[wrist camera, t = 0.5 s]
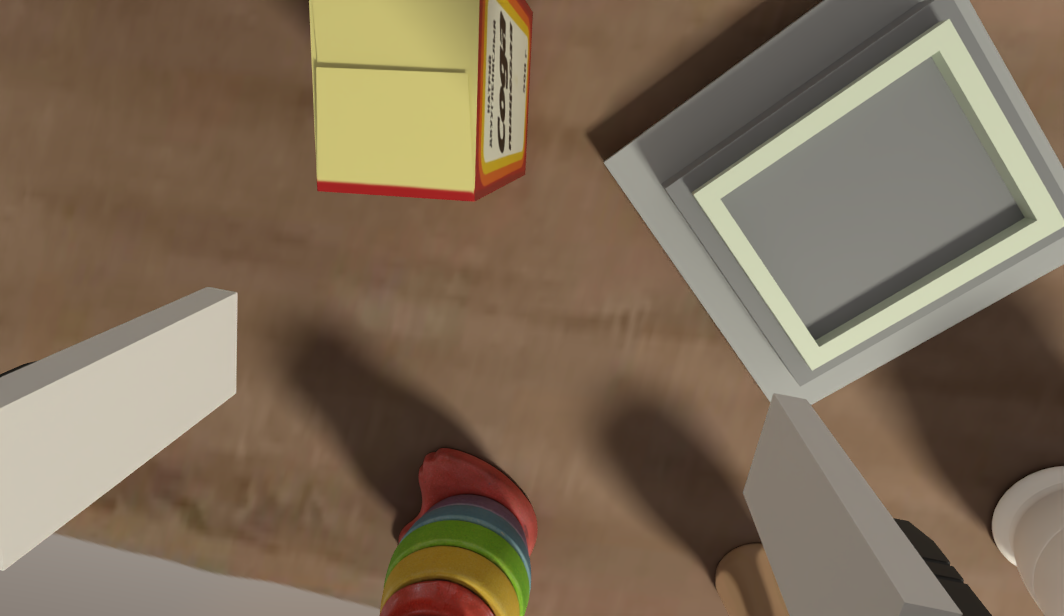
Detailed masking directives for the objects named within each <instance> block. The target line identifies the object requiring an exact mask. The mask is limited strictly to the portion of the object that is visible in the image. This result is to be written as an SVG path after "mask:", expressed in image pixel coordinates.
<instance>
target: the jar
mask: <svg viewBox="0 0 1064 616" xmlns="http://www.w3.org/2000/svg"><path fill="white" fill-rule="evenodd" d="M992 533H993V537H994V541H995V543H996V545H997V547H998V549H999V550H1000V552H1001V553H1002V554H1003V555H1004V556H1005V558H1006V559H1008V560H1009V561H1010V562H1011V563H1012V564H1014V565H1015V566H1017V568H1018V571H1019V573H1020V576H1021V578H1022V580H1023V583H1024V585H1025V586H1026V588H1027V590H1028V592H1029V593H1030V595H1031V597H1032V598H1033V600H1034V601H1035V603H1036V604H1037V606H1038V607H1039V608H1040V610H1041V611H1042V612H1043V614H1044V616H1064V466H1058V467H1051V468H1047V469H1043V470H1040V471H1037V472H1035V473H1032V474H1030V475H1028V476H1026V477H1024V478H1023V479H1021V480H1019V481H1018V482H1016V483H1015V484H1014V485H1013V486H1012V487H1010V488H1009V489H1008V490H1007V491H1006V492H1005V494H1004V495H1003V496H1002V498H1001V499H1000V500H999V502H998V504H997V506H996V508H995V511H994V514H993V518H992Z"/></svg>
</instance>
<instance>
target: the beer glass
mask: <svg viewBox="0 0 1064 616" xmlns="http://www.w3.org/2000/svg"><path fill="white" fill-rule="evenodd" d="M715 585H716V589H717V592H718V594H719V597H720V599H721V601H722V603H723V605H724V607H725V608H726V611H727V613H728V616H790V615H789V613H788V610H787V608H786V605H785V602H784V600H783V597H782V594H781V592H780V589H779V586H778V584H777V581H776V579H775V576H774V573H773V571H772V568H771V565H770V563H769V560H768V557H767V555H766V552H765V550H764V547H763V544H762V543H754V544H747V545H743V546H740V547H738V548H735V549H734V550H732V551H730V552H729V553H728V554H726V555H725V556H724V557H723V558H722V560H721V561H720V563H719V564H718V566H717V569H716V573H715Z"/></svg>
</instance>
